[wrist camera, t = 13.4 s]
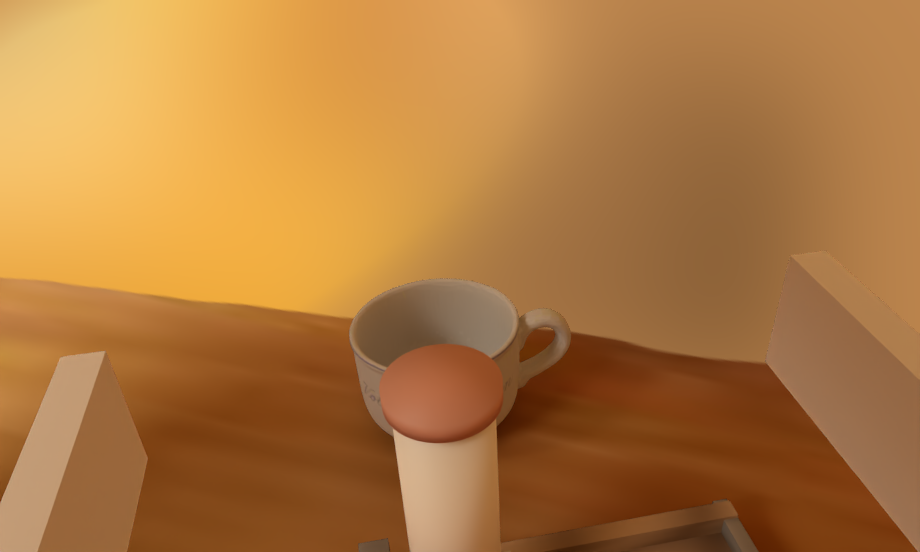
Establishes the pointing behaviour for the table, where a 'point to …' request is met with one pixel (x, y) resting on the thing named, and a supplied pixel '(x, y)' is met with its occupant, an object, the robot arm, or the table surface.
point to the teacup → (450, 333)
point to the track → (639, 534)
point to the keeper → (446, 446)
